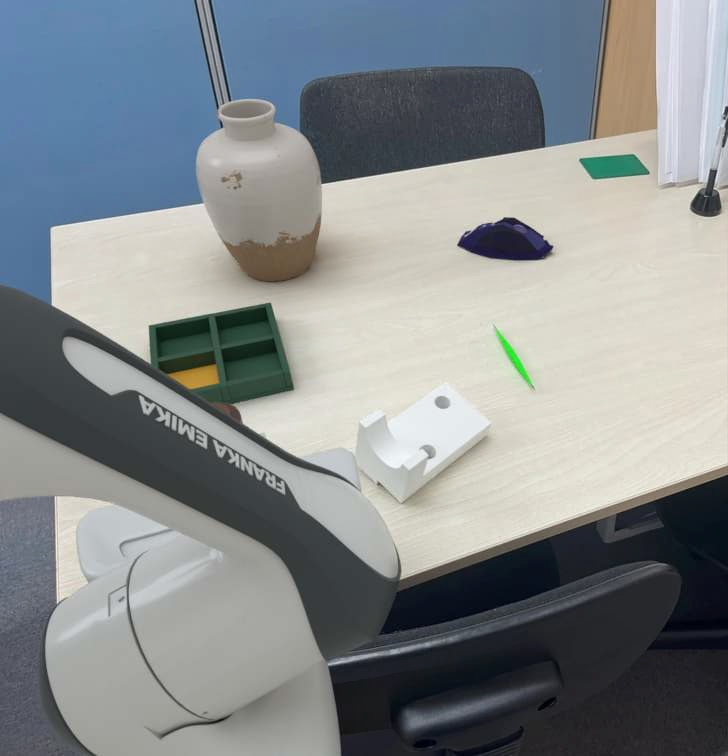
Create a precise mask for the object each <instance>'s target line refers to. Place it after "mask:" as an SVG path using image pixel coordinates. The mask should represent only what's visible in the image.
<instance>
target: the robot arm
mask: <svg viewBox="0 0 728 756" xmlns="http://www.w3.org/2000/svg"><path fill="white" fill-rule="evenodd" d="M46 497H69V498H71V497H72V498H81V499H82V498H83V499H92V500H97V501H100V502H104V503H105V502H106V503H110V505H106V506H102V507H98V508H93V509H91V510H88V512H86V513H85V515H84V516H83V517H82V518H80V520H79V522H77V525H76V530H75V536H76V537H75V541H76V550H77V551H76V552H77V558H78V563H79V568H80V571H81V573H82V574H83V576H84V578H85V579H86V582H87V584H84V585H83V586H82V587H79V589H77V590H76V591H74V592H73V593H72V594H71V595H69V596H67V597H64V598H63V599H62V600H60V601H59V602H58V603H56V604H55V606H54V607H53V608H52V610H51V611H50V613H49V615H48V617H47V619H46V621H45V623H44V625H43V628H42V631H41V633H40V637H39V641H38V646H37V651H36V652H37V653H36V662H35V677H36V678H35V679H36V688H37V694H38V700H39V704H40V708H41V712H42V714H43V718H44V720H45V723H46V725H47V727H48V729H49V730H50V732H51V733H52V734H53V735H54V737H55V738H56V739H57V740H58V741H59V742H61V743H62V744H64V745H65V746H66V747H68V748H70V749H71V750H73V751H74V752H76V753H77V754H80V755H81V756H342V747H341V735H340V726H339V725H340V724H339V718H338V712H337V704H336V700H335V694H334V693H335V692H334V687H333V682H332V677H331V673H330V668H329V664H328V663H329V662H330V661H333V660H335V659H337V658H339V657H341V656H343V655H345V654H348V653H350V652H352V651H355V650H356V649H359V648H360V647H362V646H364V645H367V644H368V643H371V642H372V641H375V640H377V639H378V637H379V636H380V633H381V631H382V630H383V628H384V625H385V623H386V621H387V619H388V616H389V614H390V612H391V609H392V607H393V604H394V602H395V598H396V595H397V592H398V589H399V584H400V581H401V577H402V561H401V558H400V554H399V552H398V549H397V546H396V544H395V541H394V539H393V536H392V534H391V532H390V530H389V528H388V525H387V523H386V522H385V520H384V518H383V517H382V515H381V514H380V512H379V511H378V509H377V508H376V506H375V505H374V504H373V503H372V501H371V500H370V499H369V498H368V497H367V496H366V495H365V494H364V493H363V491H362V484H361V479H360V472H359V467H358V465H357V463H356V459H355V453H353V452H352V451H350V450H348V449H346V448H344V447H341V446H340V447H334V448H330V449H326V450H322V451H318V452H314V453H311V454H307V455H303V456H299V457H297V456H296V455H294V454H292V453H291V452H288V451H287V450H285V449H284V448H281V447H280V446H279V445H278V444H275V443H274V442H273V441H270V440H269V439H268V438H267V437H266V432H261V433H258V432H257V431H255V430H253V429H252V428H250V427H249V426H248V425H246V424H244V422H243V423H241V422H240V421H238V420H236V419H235V418H233V417H232V416H230V415H229V414H227V413H226V412H224V411H223V410H221V409H220V408H218V407H216V406H215V405H213V404H212V403H210V402H209V401H207V400H206V399H204V398H203V397H201V396H199V395H198V394H196V393H195V392H193V391H192V390H190V389H189V388H187V387H185V386H184V385H182V384H181V383H179V382H178V381H176V380H175V379H173V378H171V377H170V376H168V375H167V374H165V373H164V372H162V371H161V370H159V369H158V368H156V367H154V366H153V365H151V362H150V363H149V362H148V361H146V360H145V359H143V357H140V356H139V355H137V354H136V353H134V352H132V351H130V350H129V349H127V348H126V347H124V346H123V345H121V344H119V343H118V342H116V341H114V340H113V339H111V338H109V336H106V335H105V334H103V333H102V332H99V331H98V330H97V329H95V328H93V327H91V326H89V325H88V324H86V323H85V322H82V321H81V320H79V319H78V318H76V317H74V316H72V315H71V314H68V313H67V312H64V311H63V310H61V309H60V308H58V307H56V306H54V305H52V304H50V303H48V302H47V301H44V300H42V299H40V298H38V297H36V296H34V295H32V294H29V293H28V292H25V291H22V290H19V289H17V288H14V287H11V286H7V285H4V284H0V502H5V501H13V500H22V499H32V498H46Z"/></svg>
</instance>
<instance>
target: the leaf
mask: <svg viewBox="0 0 728 756" xmlns="http://www.w3.org/2000/svg"><path fill="white" fill-rule="evenodd" d="M493 327H494V330H495V331H496V333H497V336H498V337H499V339H500V341H501V343H502V345H503V347H504V349H505V351H506V353H507V355H508V356H509V358H510V360H511V361H512V362H513V364H514V365H515V367H516V368H517V369H518V370H519V372H520V373H521V375H522V376H523V377H524V378H525V380H526V381H527V382H528V383H529V385H530V386H531V387H532V389H533V390H534V391H535V390H536V389H535V387H534V385H533V383H532V381H531V379H530V377H529V375H528V373H527V371H526V369H525V367H524V365H523V363H522V361H521V360H520V358H519V356H518V354H517V353H516V351H515V350H514V349H513V347H512V346H511V344H509V342H508V341H507V339H506V338H505V337H504V336H503V335H502V333H501V332H500V330H499V329H498V328H497V327H496V326H495V325H493Z"/></svg>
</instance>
